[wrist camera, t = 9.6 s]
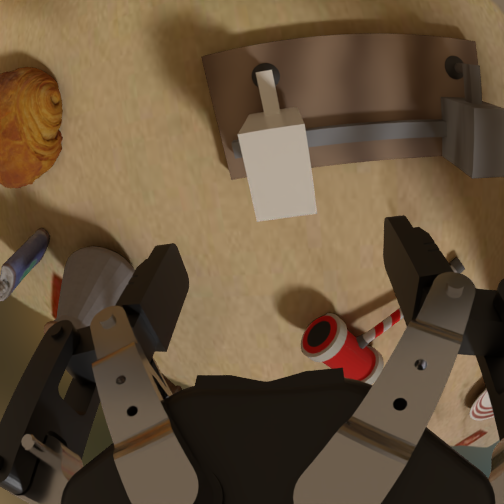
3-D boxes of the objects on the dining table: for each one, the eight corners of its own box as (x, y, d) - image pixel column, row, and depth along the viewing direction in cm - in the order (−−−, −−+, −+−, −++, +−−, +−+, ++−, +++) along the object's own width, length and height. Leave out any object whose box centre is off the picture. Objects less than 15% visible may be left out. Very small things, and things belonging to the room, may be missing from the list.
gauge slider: (288, 67, 23) (294, 66, 15) (306, 169, 28) (317, 213, 20) (241, 75, 23) (224, 79, 16) (263, 175, 28) (257, 221, 21)
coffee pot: (78, 290, 42) (31, 367, 29) (72, 226, 35) (4, 303, 23) (213, 333, 44) (194, 427, 31) (232, 272, 37) (210, 379, 25)
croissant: (-4, 82, 26) (-49, 96, 20) (68, 52, 23) (11, 60, 17) (9, 177, 34) (-31, 201, 27) (80, 176, 31) (32, 205, 25)
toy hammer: (440, 228, 32) (463, 259, 27) (470, 282, 36) (489, 313, 31) (298, 327, 42) (299, 364, 37) (346, 362, 46) (350, 395, 41)
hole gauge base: (467, 41, 20) (511, 43, 13) (473, 150, 26) (512, 176, 20) (205, 57, 24) (181, 55, 18) (233, 174, 31) (220, 207, 24)
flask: (41, 224, 36) (-6, 271, 27) (54, 238, 37) (10, 288, 28) (22, 257, 39) (-16, 301, 31) (35, 269, 41) (-2, 315, 32)
